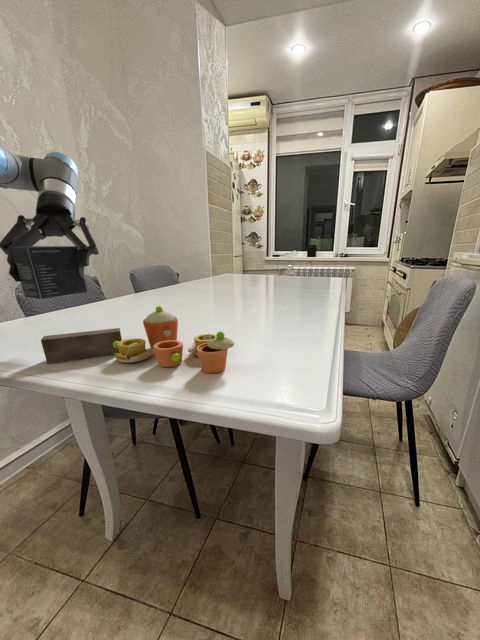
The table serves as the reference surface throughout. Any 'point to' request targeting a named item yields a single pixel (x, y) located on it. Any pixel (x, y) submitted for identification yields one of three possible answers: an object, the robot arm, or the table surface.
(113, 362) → the table surface
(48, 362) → the block
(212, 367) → the toy tea set
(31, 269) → the box
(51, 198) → the robot arm
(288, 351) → the table surface
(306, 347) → the table surface
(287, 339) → the table surface
